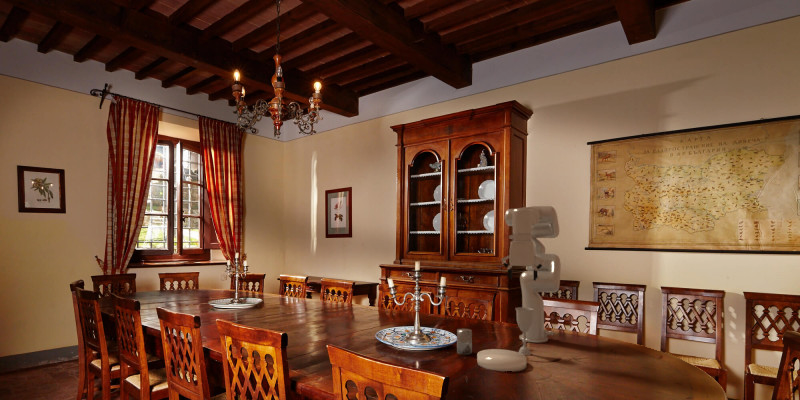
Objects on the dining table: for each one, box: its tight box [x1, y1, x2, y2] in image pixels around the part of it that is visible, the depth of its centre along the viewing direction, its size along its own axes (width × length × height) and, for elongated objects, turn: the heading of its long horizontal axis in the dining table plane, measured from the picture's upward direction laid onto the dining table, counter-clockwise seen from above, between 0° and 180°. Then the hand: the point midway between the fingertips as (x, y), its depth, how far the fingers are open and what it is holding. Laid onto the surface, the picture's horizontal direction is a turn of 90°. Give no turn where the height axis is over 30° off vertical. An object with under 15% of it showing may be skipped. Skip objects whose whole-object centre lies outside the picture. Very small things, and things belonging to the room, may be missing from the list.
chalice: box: [514, 306, 533, 356], centre depth 175 cm, size 7×7×18 cm
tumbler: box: [456, 328, 473, 356], centre depth 174 cm, size 6×6×9 cm
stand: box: [476, 348, 527, 372], centre depth 160 cm, size 18×18×3 cm
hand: (522, 279), depth 176 cm, fingers open, 9 cm apart
